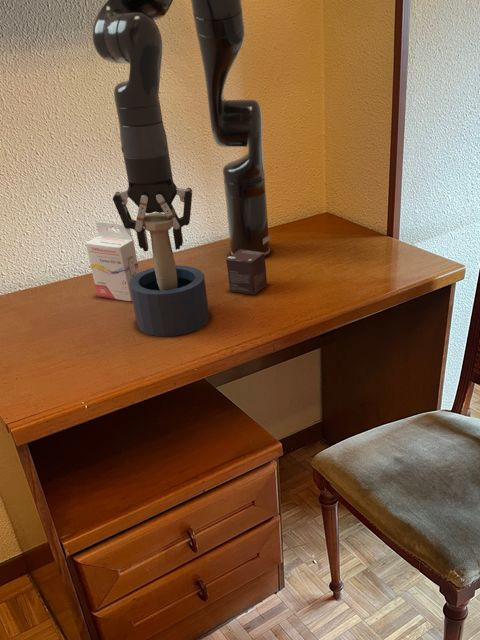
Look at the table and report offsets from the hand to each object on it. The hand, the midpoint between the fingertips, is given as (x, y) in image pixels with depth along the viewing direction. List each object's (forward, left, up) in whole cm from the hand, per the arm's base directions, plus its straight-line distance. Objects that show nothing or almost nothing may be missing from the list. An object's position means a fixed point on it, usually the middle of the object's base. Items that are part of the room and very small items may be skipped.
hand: (161, 248), depth 121 cm
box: (-13, +15, -15) cm, 25 cm away
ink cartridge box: (-14, -12, -15) cm, 23 cm away
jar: (0, 0, -14) cm, 14 cm away
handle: (0, 0, -10) cm, 10 cm away
